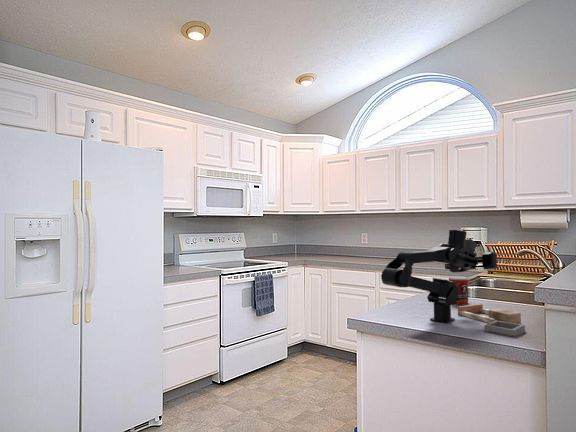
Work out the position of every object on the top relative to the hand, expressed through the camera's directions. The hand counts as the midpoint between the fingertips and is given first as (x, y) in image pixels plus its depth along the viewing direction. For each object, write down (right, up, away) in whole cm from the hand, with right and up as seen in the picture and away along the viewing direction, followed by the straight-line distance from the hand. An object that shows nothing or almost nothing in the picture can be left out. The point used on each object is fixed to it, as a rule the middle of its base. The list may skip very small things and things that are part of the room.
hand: (485, 266), depth 161 cm
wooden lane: (-4, -18, -10) cm, 21 cm away
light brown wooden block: (-1, -18, -17) cm, 25 cm away
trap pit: (-8, -17, -29) cm, 35 cm away
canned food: (-3, -18, +17) cm, 25 cm away
